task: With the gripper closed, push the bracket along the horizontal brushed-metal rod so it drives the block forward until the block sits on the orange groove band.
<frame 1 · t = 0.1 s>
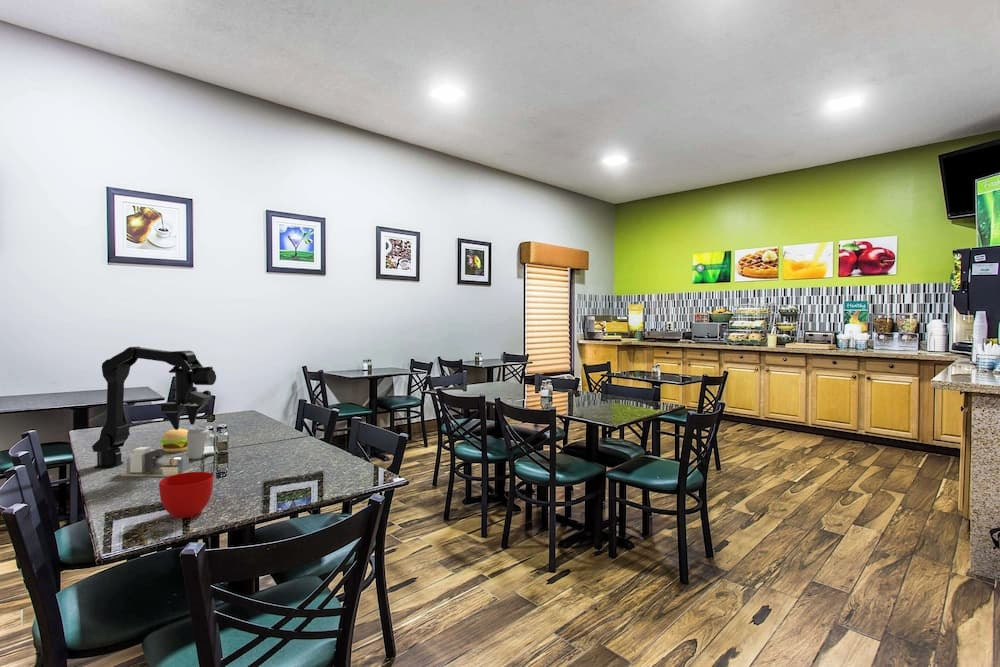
hand: (184, 427, 188), 15 cm above the table, fingers open, 9 cm apart
block: (153, 460, 180), point 4 cm above the table, slide at -1.5 cm
bracket: (142, 459, 180), point 5 cm above the table, slide at -5.5 cm
red bowl: (191, 512, 144), on the table
beige mechanical fixture: (158, 472, 180), on the table
hamburger: (177, 450, 212), on the table
can: (198, 458, 200), on the table
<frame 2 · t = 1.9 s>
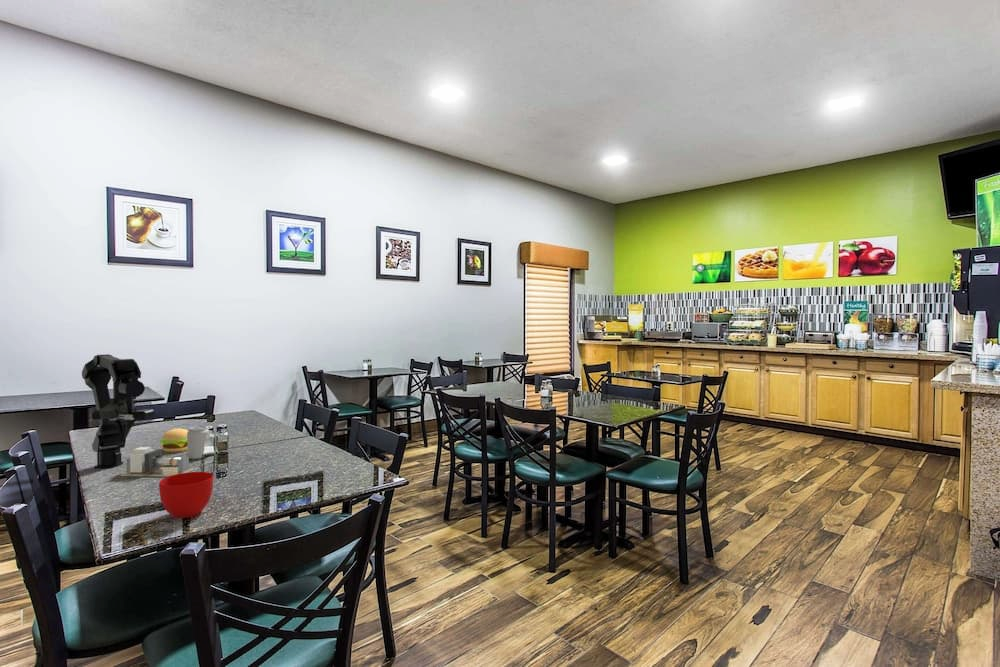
hand: (123, 438, 180), 12 cm above the table, fingers closed
nothing on the table moved.
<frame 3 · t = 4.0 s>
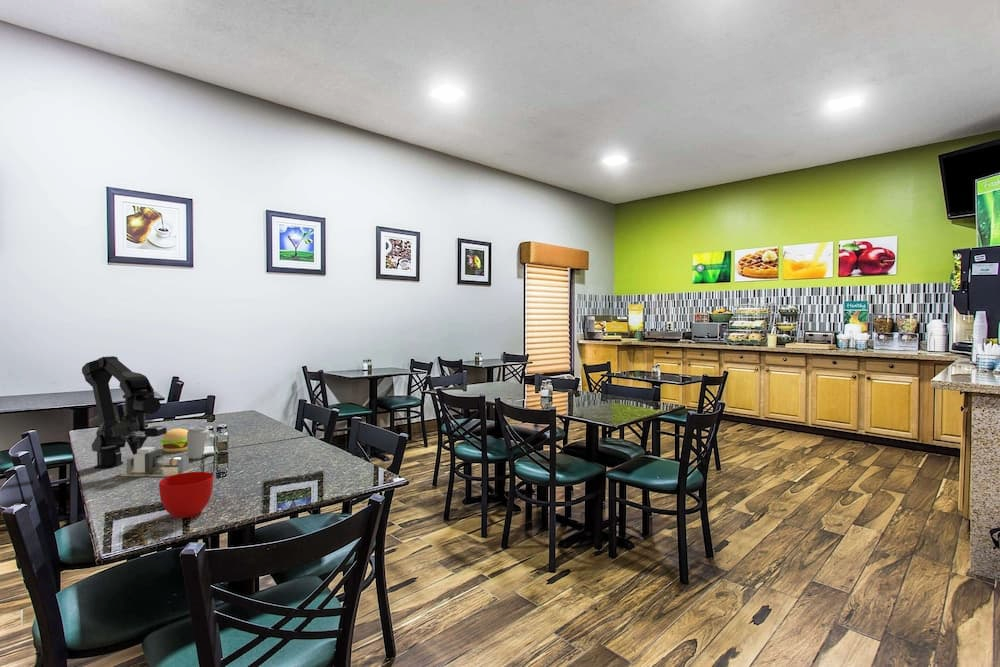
hand: (135, 455, 180), 6 cm above the table, fingers closed
block: (153, 460, 180), point 4 cm above the table, slide at -1.4 cm, touching bracket
bracket: (146, 459, 180), point 5 cm above the table, slide at -4.2 cm, touching gripper, block
everything else where it was.
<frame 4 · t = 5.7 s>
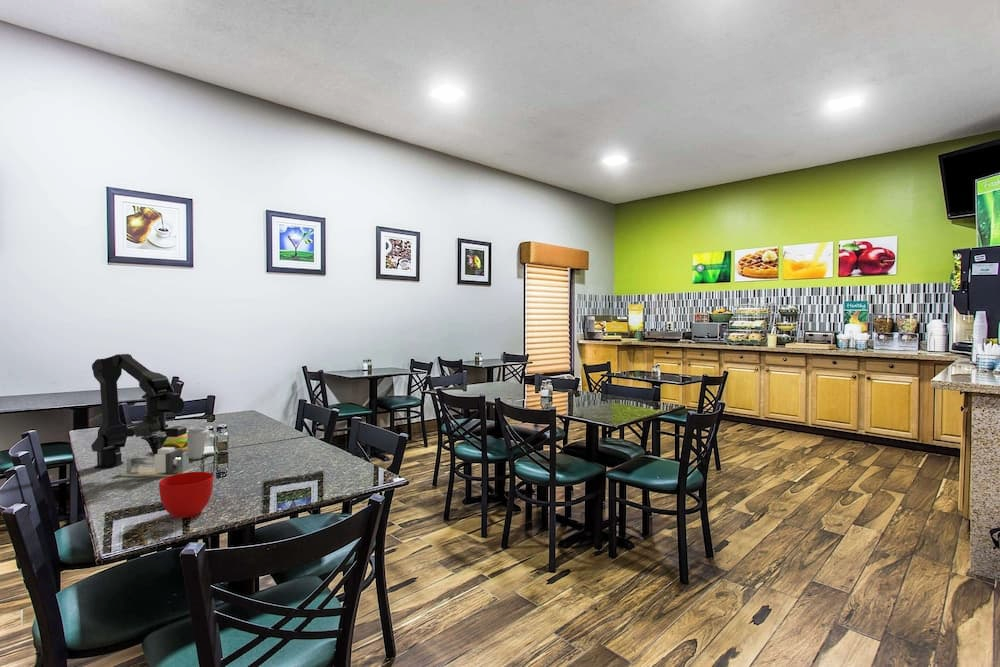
hand: (156, 455, 180), 6 cm above the table, fingers closed
block: (174, 460, 180), point 4 cm above the table, slide at 5.8 cm, touching bracket
bracket: (166, 459, 180), point 5 cm above the table, slide at 3.0 cm, touching gripper, block
everything else where it was.
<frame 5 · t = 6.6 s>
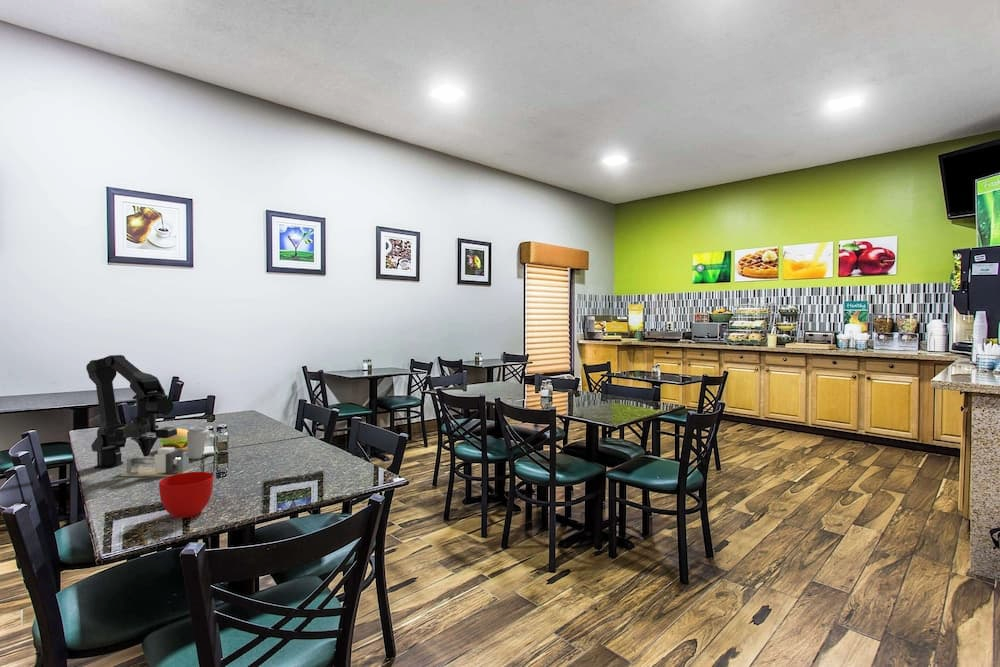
hand: (146, 456, 180), 6 cm above the table, fingers closed
bracket: (166, 459, 180), point 5 cm above the table, slide at 3.0 cm, touching block
everything else where it was.
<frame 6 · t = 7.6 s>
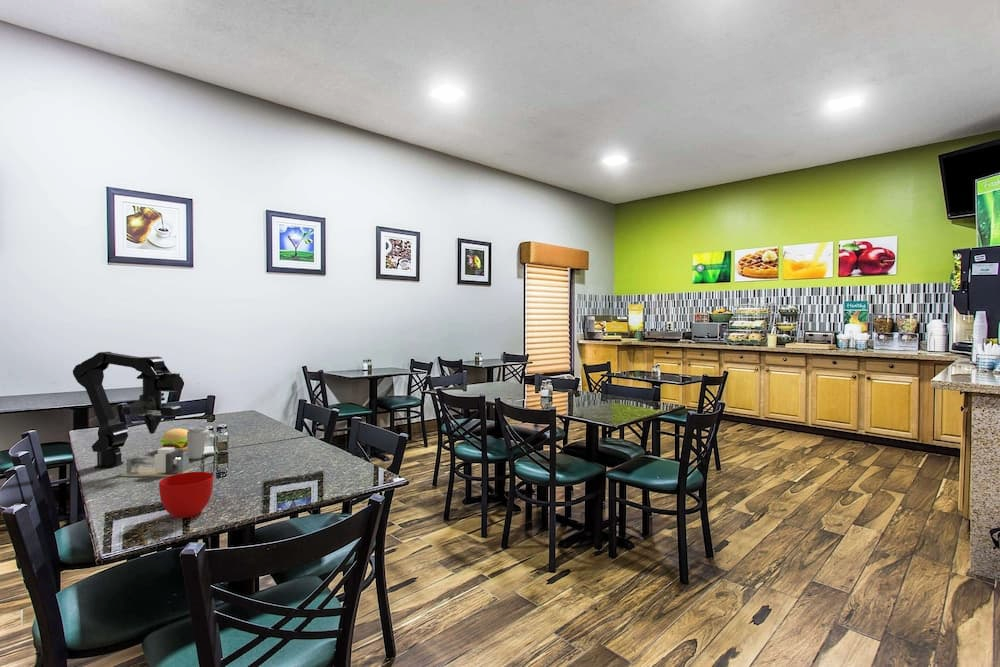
hand: (152, 433, 187), 12 cm above the table, fingers closed
nothing on the table moved.
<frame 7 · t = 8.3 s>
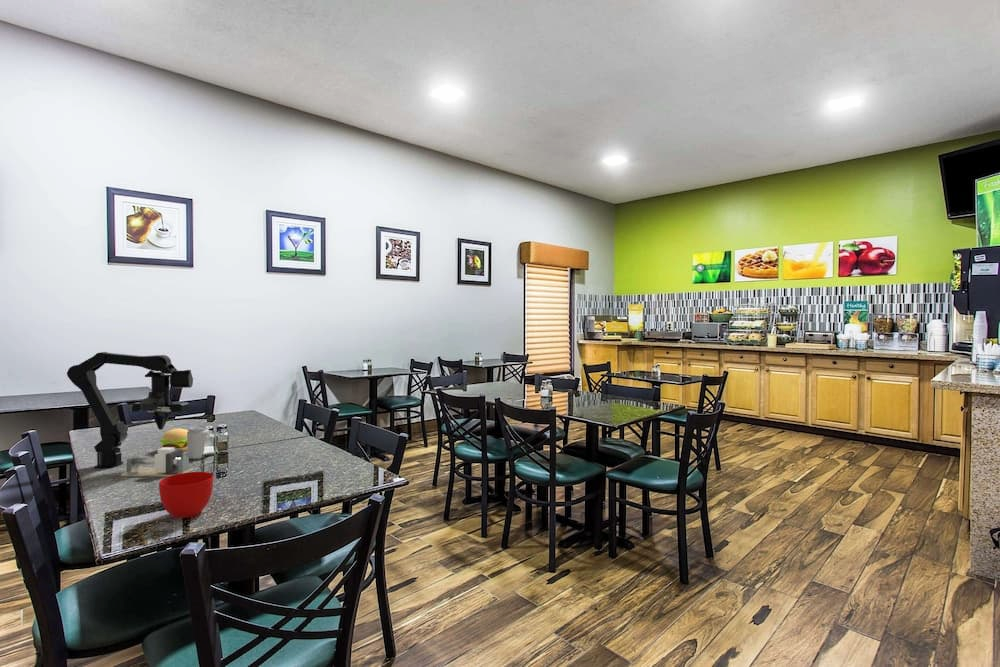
hand: (160, 429, 193), 12 cm above the table, fingers closed
nothing on the table moved.
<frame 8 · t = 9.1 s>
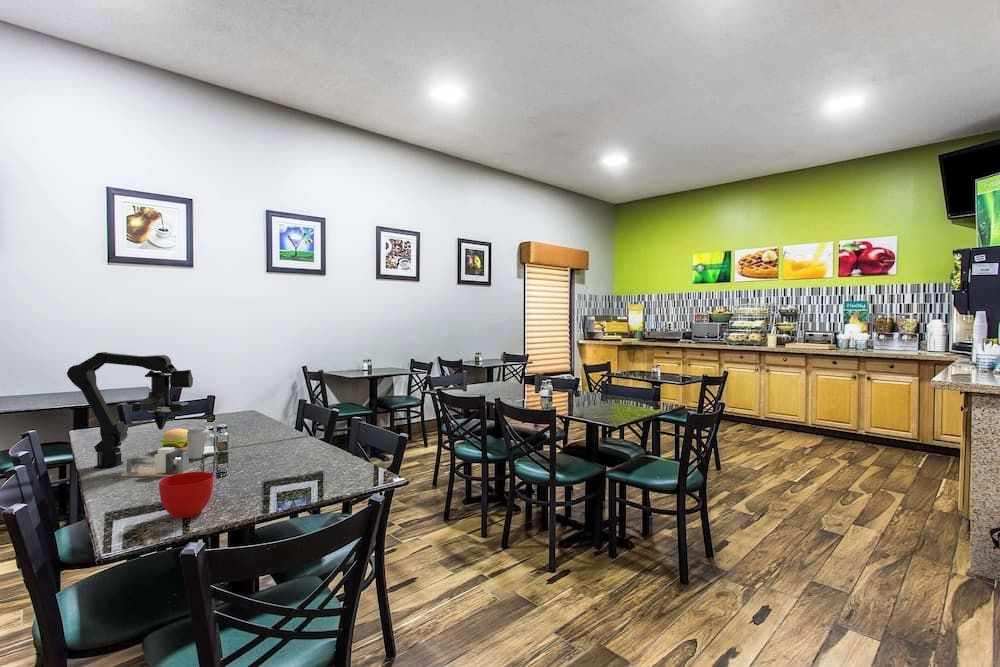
hand: (160, 429, 193), 12 cm above the table, fingers closed
nothing on the table moved.
at the end: block slide at 5.8 cm; bracket slide at 3.0 cm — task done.
